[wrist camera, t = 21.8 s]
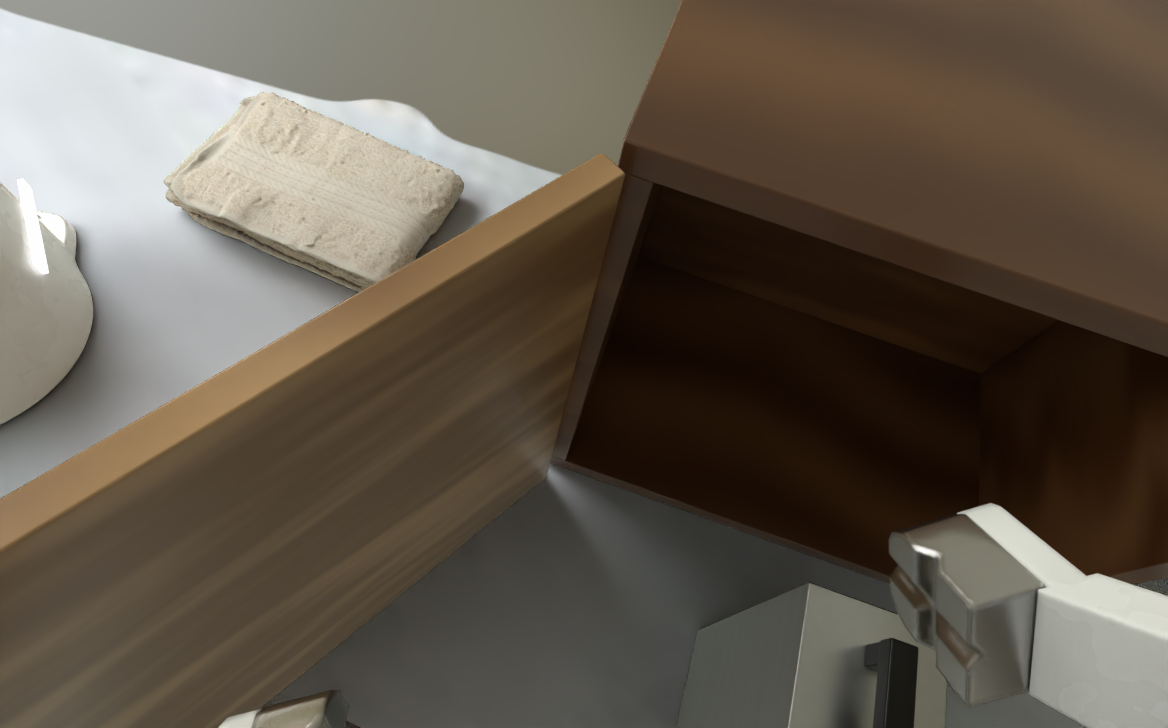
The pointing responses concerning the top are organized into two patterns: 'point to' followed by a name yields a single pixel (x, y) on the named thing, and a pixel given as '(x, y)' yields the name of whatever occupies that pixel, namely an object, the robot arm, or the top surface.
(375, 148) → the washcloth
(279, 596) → the cupboard door
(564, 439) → the cupboard
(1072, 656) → the robot arm
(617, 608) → the top surface
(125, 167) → the top surface
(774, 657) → the grey box with handle
